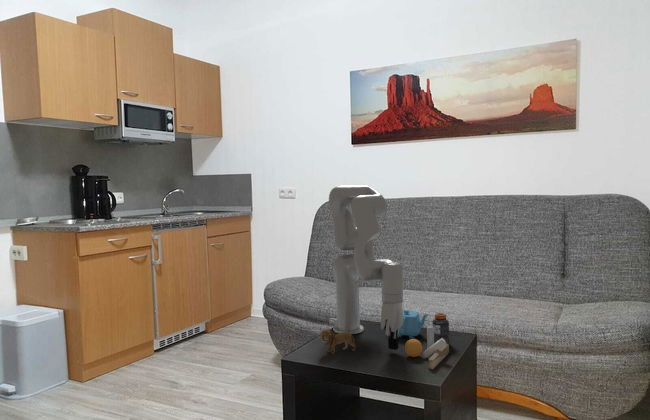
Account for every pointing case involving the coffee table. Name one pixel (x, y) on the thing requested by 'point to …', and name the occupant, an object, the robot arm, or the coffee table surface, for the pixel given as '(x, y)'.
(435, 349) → the white pin
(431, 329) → the grey pin
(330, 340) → the lion figurine
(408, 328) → the teapot
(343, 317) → the robot arm
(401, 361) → the coffee table surface
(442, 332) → the pill bottle
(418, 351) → the ball
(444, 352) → the tan wooden bar
